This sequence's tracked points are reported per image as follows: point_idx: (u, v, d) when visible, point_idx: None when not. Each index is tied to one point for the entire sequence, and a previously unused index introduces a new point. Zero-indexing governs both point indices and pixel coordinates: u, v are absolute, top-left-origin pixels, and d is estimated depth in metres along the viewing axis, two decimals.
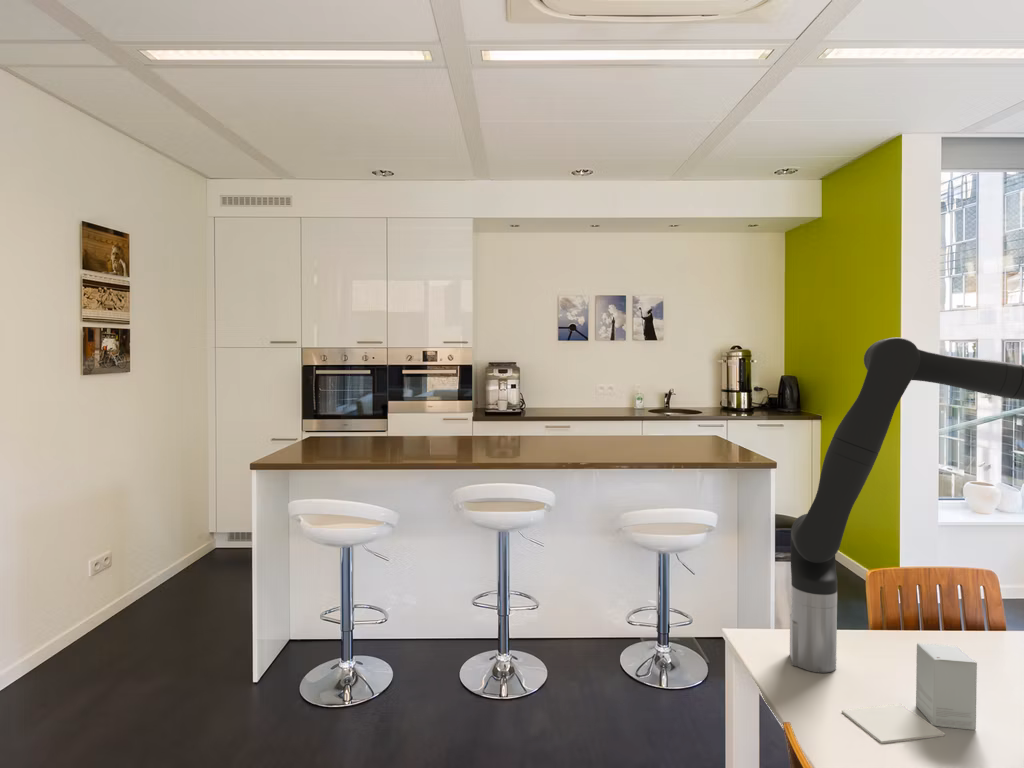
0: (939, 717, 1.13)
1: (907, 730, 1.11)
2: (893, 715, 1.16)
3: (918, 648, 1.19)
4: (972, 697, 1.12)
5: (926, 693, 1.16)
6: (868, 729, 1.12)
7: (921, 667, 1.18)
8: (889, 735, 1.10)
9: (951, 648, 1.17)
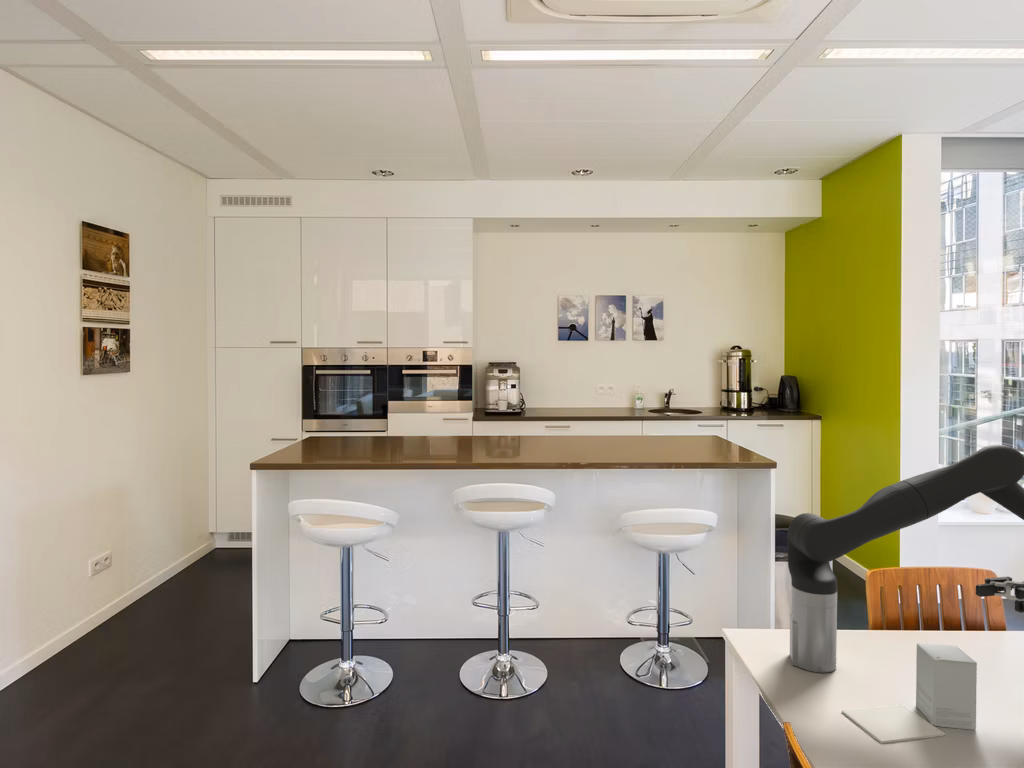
0: (939, 717, 1.13)
1: (907, 730, 1.11)
2: (893, 715, 1.16)
3: (918, 648, 1.19)
4: (972, 697, 1.12)
5: (926, 693, 1.16)
6: (868, 729, 1.12)
7: (921, 667, 1.18)
8: (889, 735, 1.10)
9: (951, 648, 1.17)
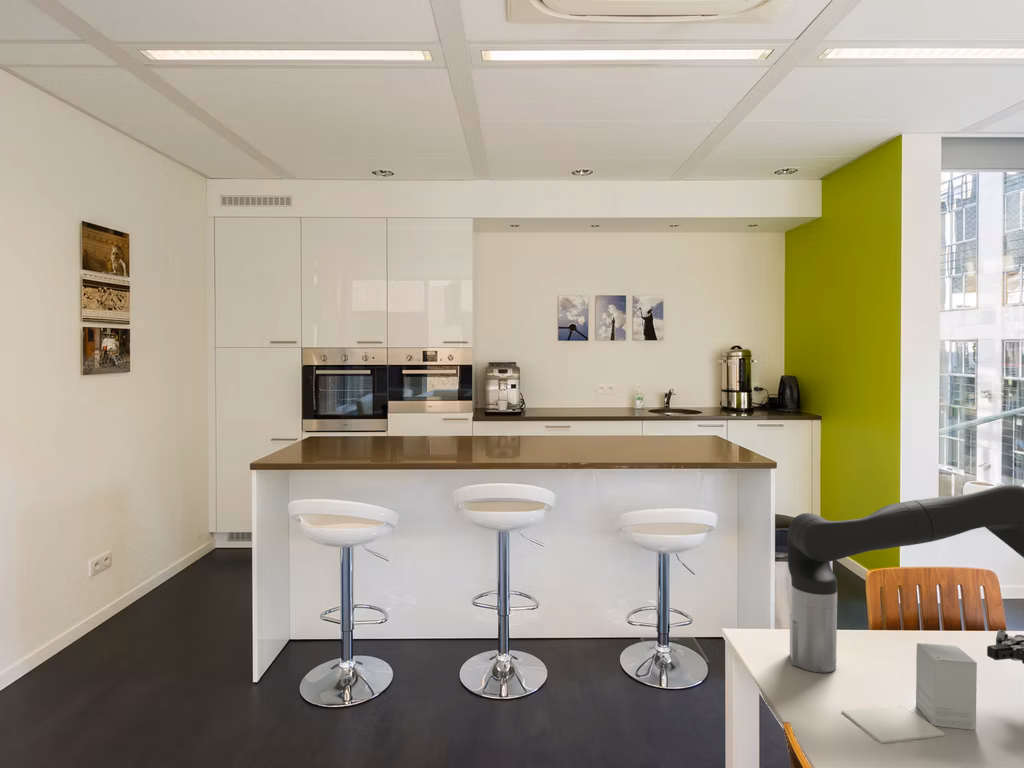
0: (939, 717, 1.13)
1: (907, 730, 1.11)
2: (893, 715, 1.16)
3: (918, 648, 1.19)
4: (972, 697, 1.12)
5: (926, 693, 1.16)
6: (868, 729, 1.12)
7: (921, 667, 1.18)
8: (889, 735, 1.10)
9: (951, 648, 1.17)
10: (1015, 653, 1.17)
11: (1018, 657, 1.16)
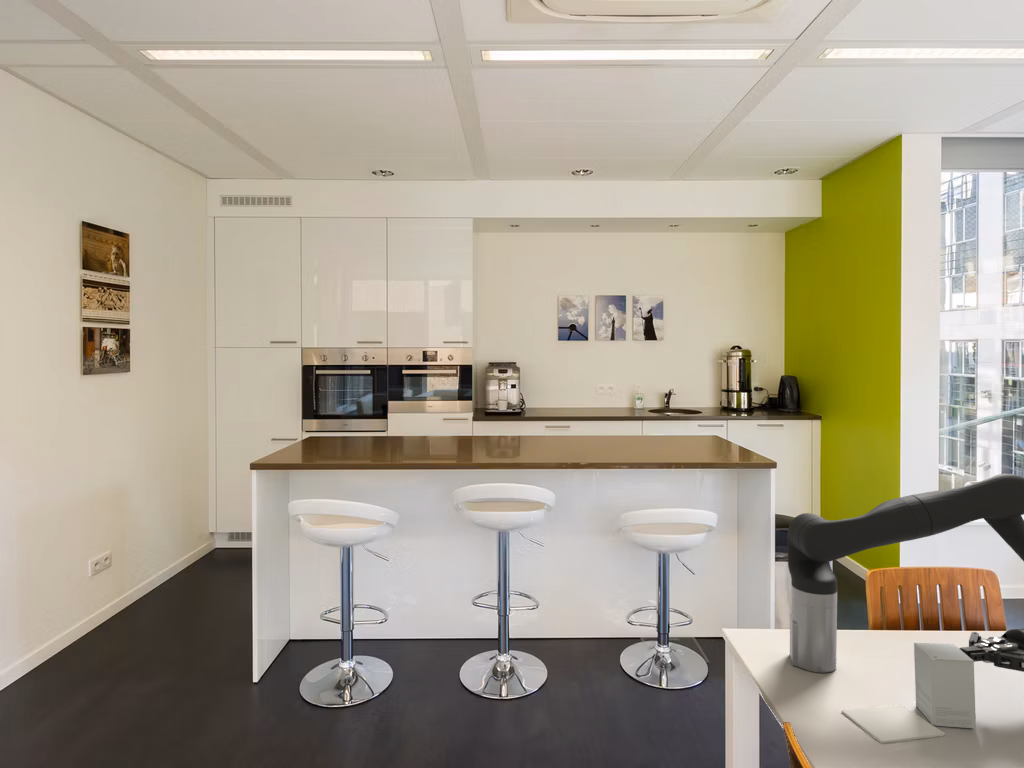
0: (939, 717, 1.13)
1: (907, 730, 1.11)
2: (893, 715, 1.16)
3: (915, 648, 1.19)
4: (970, 695, 1.12)
5: (925, 693, 1.16)
6: (868, 729, 1.12)
7: (919, 667, 1.18)
8: (889, 735, 1.10)
9: (948, 647, 1.17)
10: (987, 655, 1.16)
11: (990, 659, 1.15)
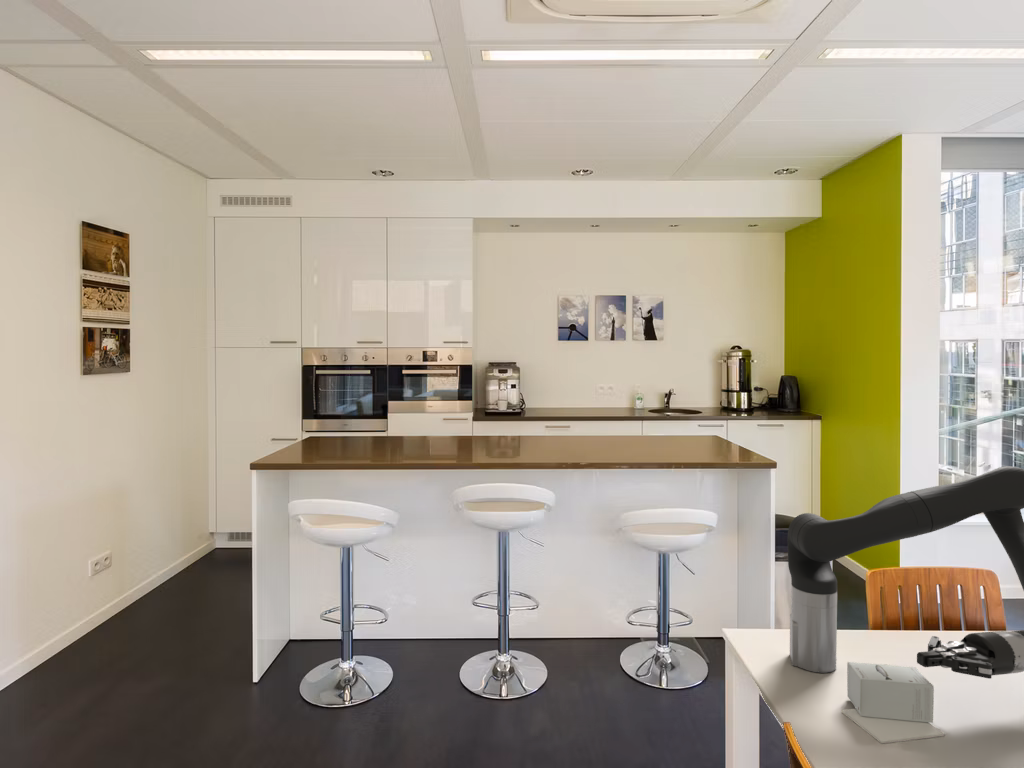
0: (923, 717, 1.14)
1: (907, 730, 1.11)
2: None
3: None
4: (898, 686, 1.14)
5: None
6: (868, 729, 1.12)
7: None
8: (889, 735, 1.10)
9: (849, 674, 1.21)
10: (944, 660, 1.14)
11: (947, 664, 1.14)
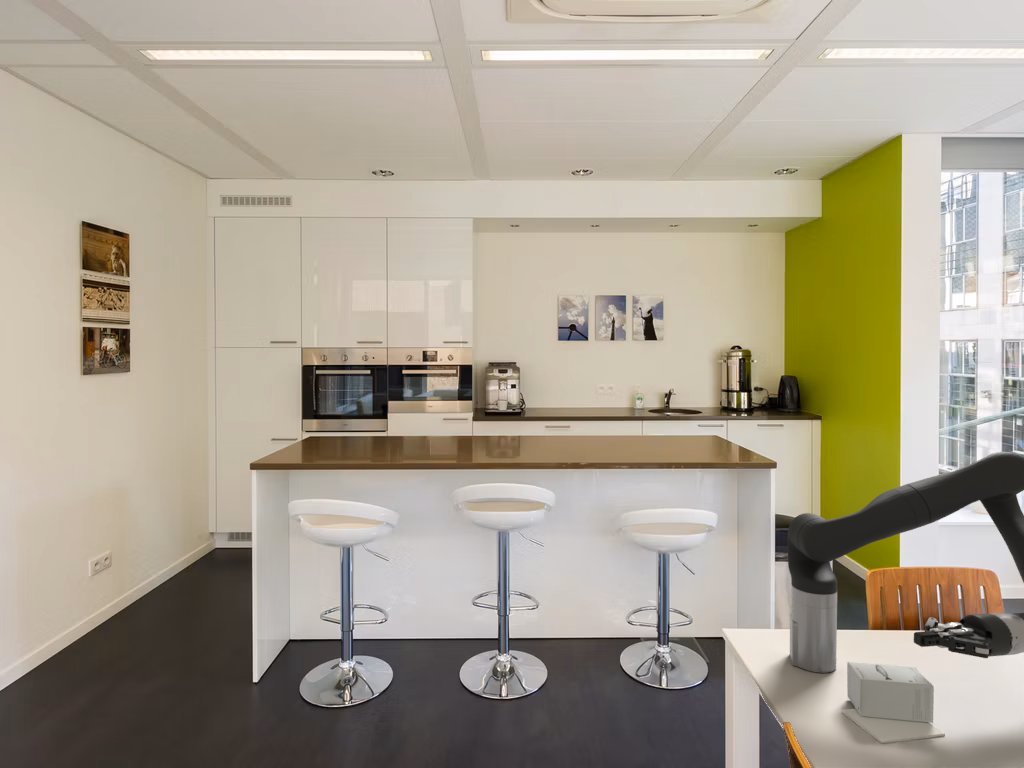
0: (923, 717, 1.14)
1: (907, 730, 1.11)
2: None
3: None
4: (898, 686, 1.14)
5: None
6: (868, 729, 1.12)
7: None
8: (889, 735, 1.10)
9: (849, 674, 1.21)
10: (941, 640, 1.14)
11: (944, 644, 1.14)
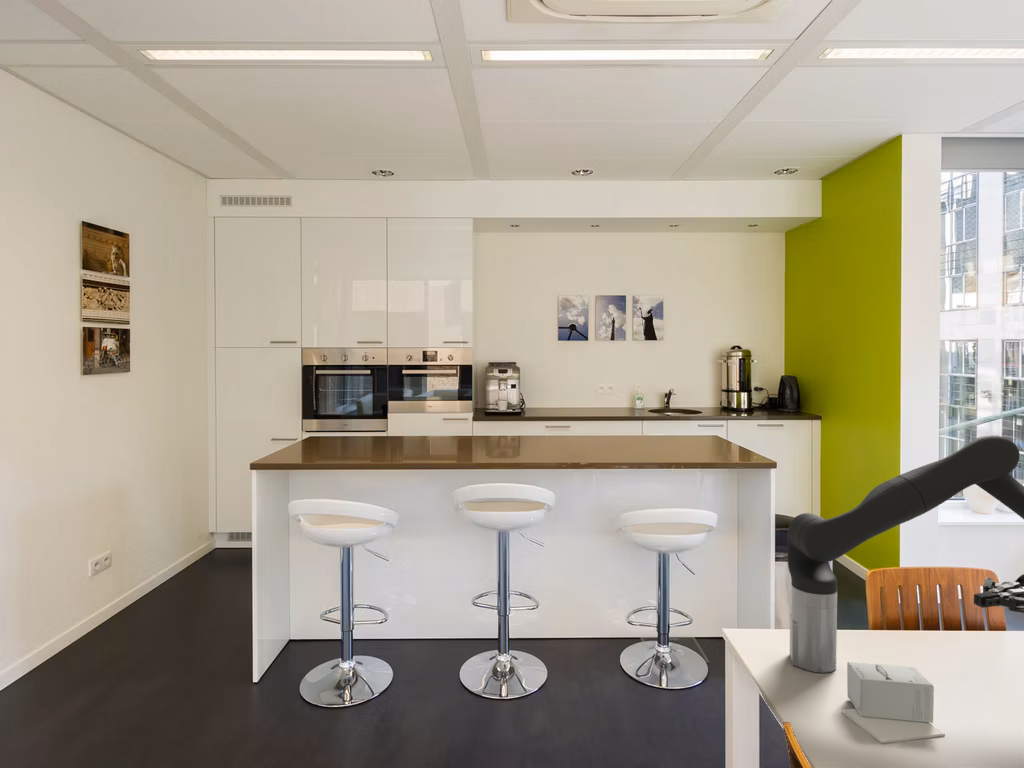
0: (923, 717, 1.14)
1: (907, 730, 1.11)
2: None
3: None
4: (898, 686, 1.14)
5: None
6: (868, 729, 1.12)
7: None
8: (889, 735, 1.10)
9: (849, 674, 1.21)
10: (1002, 600, 1.16)
11: (1005, 604, 1.16)
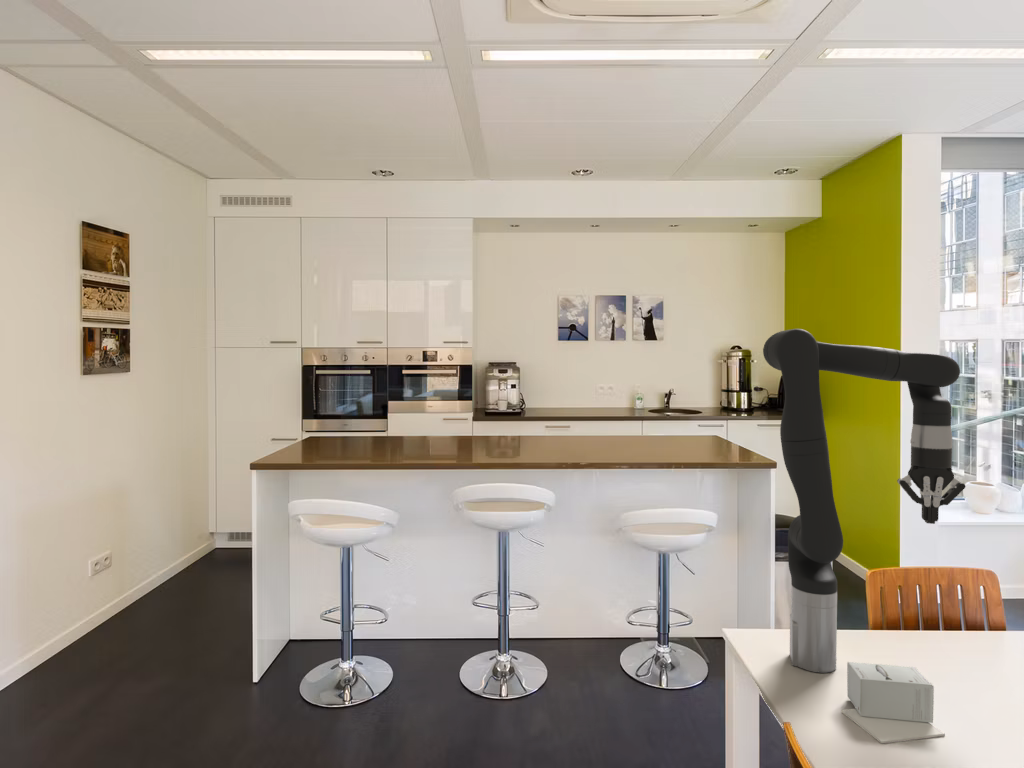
0: (923, 717, 1.14)
1: (907, 730, 1.11)
2: None
3: None
4: (898, 686, 1.14)
5: None
6: (868, 729, 1.12)
7: None
8: (889, 735, 1.10)
9: (849, 674, 1.21)
10: None
11: None
